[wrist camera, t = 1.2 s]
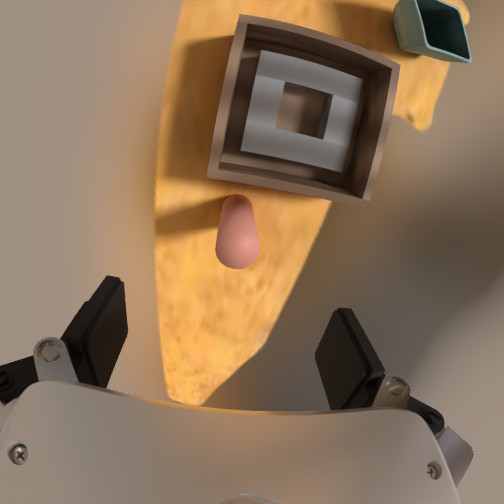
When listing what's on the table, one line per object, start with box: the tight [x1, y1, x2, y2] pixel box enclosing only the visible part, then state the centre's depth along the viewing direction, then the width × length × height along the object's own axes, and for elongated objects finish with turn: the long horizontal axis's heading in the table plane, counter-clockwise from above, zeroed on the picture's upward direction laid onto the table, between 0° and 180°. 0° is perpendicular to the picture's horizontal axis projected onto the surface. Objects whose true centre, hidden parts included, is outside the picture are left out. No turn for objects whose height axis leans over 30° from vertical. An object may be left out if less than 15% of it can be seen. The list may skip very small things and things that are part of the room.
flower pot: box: [393, 0, 472, 63], centre depth 20 cm, size 9×9×9 cm
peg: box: [215, 194, 260, 269], centre depth 30 cm, size 4×4×12 cm
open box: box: [206, 14, 400, 209], centre depth 27 cm, size 18×18×7 cm
